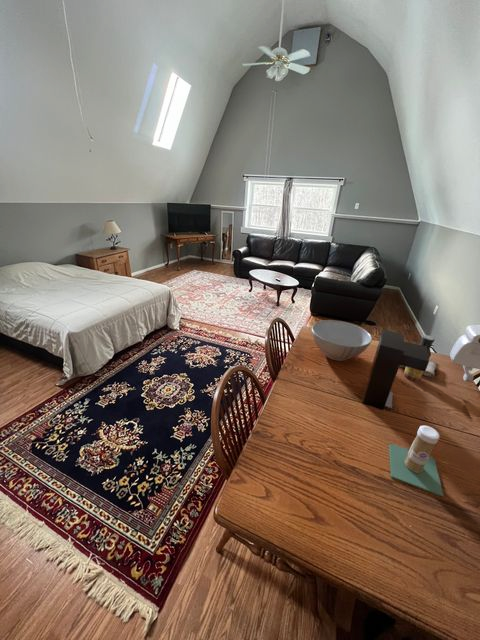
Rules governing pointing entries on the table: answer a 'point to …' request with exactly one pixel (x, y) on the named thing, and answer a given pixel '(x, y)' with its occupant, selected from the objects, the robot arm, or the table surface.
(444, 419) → the table surface
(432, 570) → the table surface
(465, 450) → the table surface
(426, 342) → the sauce bottle
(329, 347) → the decorative bowl
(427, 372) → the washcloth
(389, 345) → the black l-shaped post
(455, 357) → the robot arm
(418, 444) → the sprinkles bottle
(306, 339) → the table surface
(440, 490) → the rubber mat
